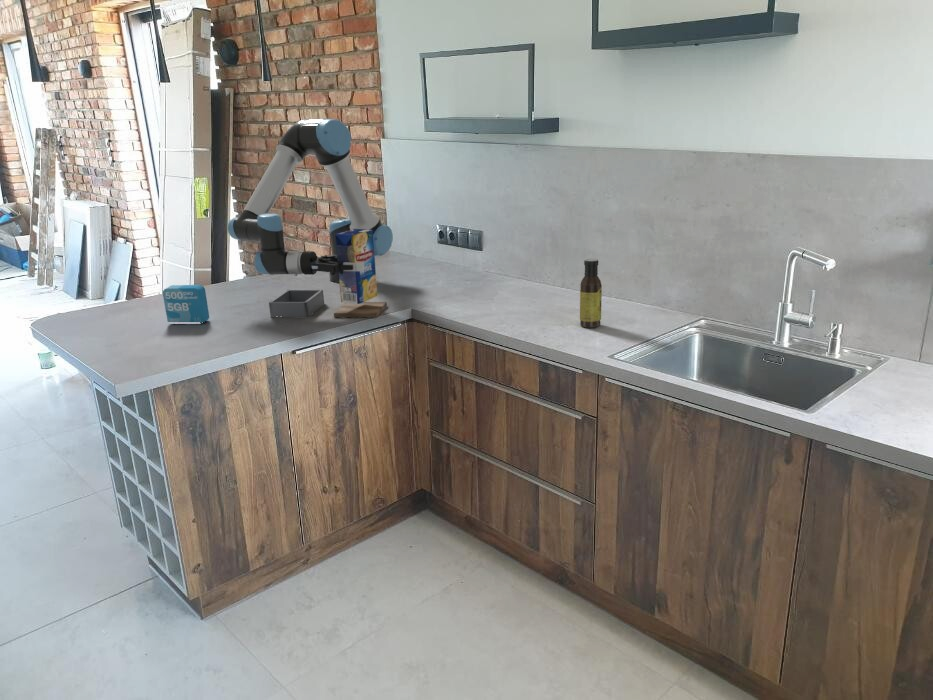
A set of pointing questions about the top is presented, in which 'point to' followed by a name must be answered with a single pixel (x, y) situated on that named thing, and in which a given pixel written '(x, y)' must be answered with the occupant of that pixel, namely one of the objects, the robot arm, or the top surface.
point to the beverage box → (355, 249)
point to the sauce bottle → (590, 295)
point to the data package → (186, 303)
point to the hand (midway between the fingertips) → (368, 262)
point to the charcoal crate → (296, 303)
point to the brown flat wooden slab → (361, 309)
